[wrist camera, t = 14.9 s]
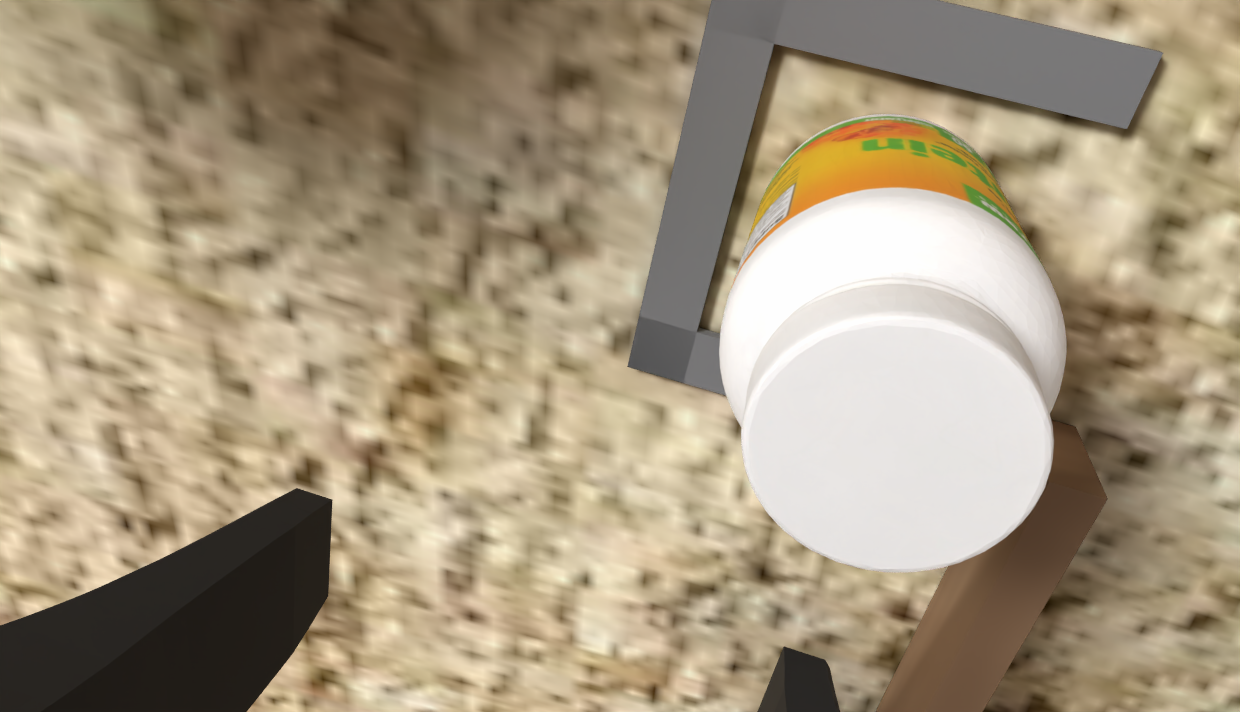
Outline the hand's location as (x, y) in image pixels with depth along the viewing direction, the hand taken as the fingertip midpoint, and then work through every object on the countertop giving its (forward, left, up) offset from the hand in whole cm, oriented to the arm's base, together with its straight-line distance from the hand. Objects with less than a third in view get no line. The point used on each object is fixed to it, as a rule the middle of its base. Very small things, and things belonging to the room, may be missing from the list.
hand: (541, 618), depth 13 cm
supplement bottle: (-4, -4, -11) cm, 12 cm away
